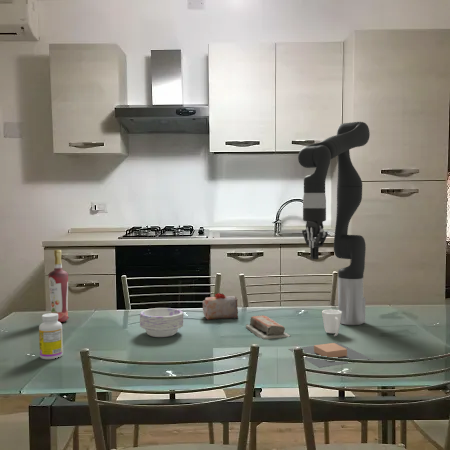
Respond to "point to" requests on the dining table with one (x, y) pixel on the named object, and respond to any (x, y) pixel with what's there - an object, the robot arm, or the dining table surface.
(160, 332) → the paper bowls
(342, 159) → the robot arm
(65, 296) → the liquor
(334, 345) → the tile
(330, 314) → the cup
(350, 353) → the mat
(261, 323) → the packaged product
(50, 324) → the supplement bottle
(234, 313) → the food item
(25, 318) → the dining table surface
